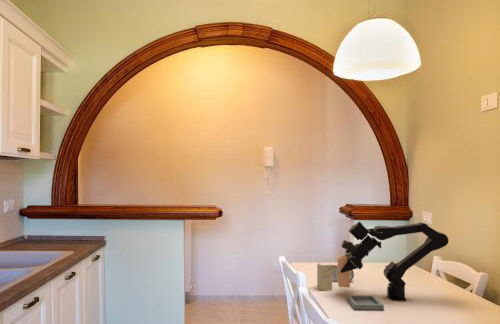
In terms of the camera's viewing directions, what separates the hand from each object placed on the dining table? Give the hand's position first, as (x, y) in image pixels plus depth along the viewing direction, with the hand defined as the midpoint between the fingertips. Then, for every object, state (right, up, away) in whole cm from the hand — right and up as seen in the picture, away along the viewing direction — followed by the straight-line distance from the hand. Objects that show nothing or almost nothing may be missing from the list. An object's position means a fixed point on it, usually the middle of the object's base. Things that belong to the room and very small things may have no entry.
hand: (340, 270), depth 163 cm
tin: (+5, -13, +21) cm, 25 cm away
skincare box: (-5, -12, +8) cm, 16 cm away
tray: (+7, -11, -13) cm, 18 cm away
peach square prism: (+1, -7, 0) cm, 7 cm away
